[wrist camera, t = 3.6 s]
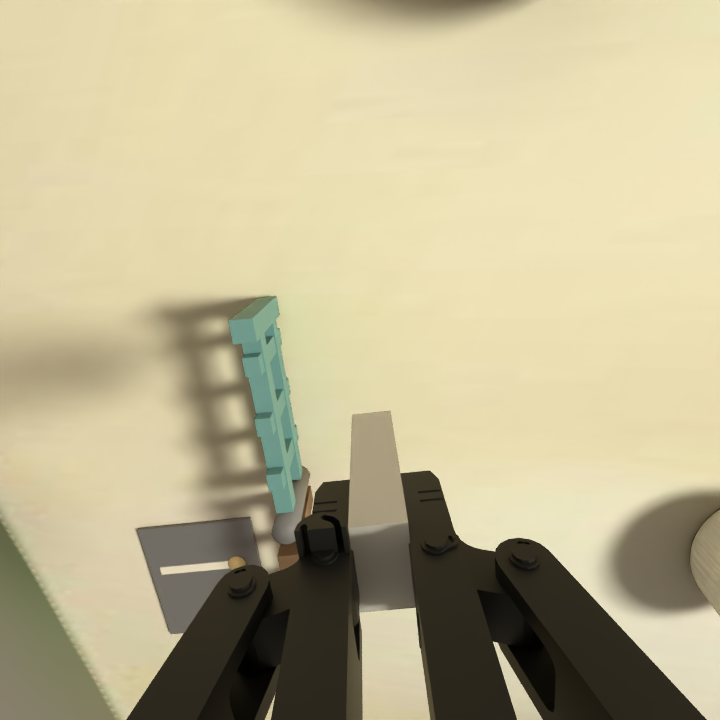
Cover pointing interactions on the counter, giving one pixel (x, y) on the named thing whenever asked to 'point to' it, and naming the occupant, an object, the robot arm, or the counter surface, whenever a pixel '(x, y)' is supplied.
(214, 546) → the card
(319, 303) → the counter surface
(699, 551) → the ramekin
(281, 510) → the fence
